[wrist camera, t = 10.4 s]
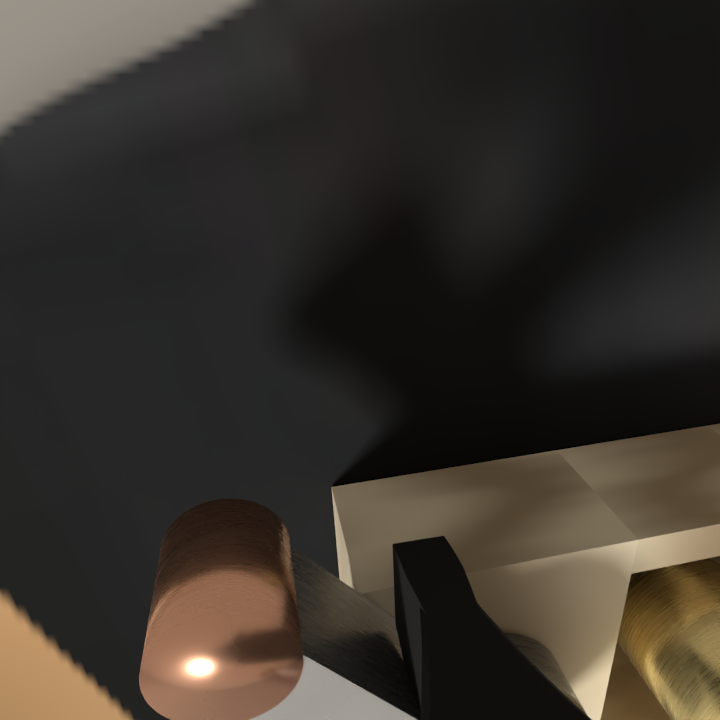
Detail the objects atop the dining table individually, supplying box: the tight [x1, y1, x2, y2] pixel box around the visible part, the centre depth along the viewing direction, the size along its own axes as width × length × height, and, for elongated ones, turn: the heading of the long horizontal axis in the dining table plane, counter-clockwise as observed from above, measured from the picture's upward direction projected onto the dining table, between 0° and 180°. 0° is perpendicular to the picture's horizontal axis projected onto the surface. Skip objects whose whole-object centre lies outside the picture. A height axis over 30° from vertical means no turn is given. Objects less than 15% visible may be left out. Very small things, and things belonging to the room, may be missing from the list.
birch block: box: [332, 424, 720, 720], centre depth 15 cm, size 12×8×4 cm, turn 93°
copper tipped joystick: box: [139, 499, 588, 720], centre depth 11 cm, size 4×11×3 cm, turn 42°
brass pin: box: [617, 557, 720, 720], centre depth 14 cm, size 3×3×7 cm
